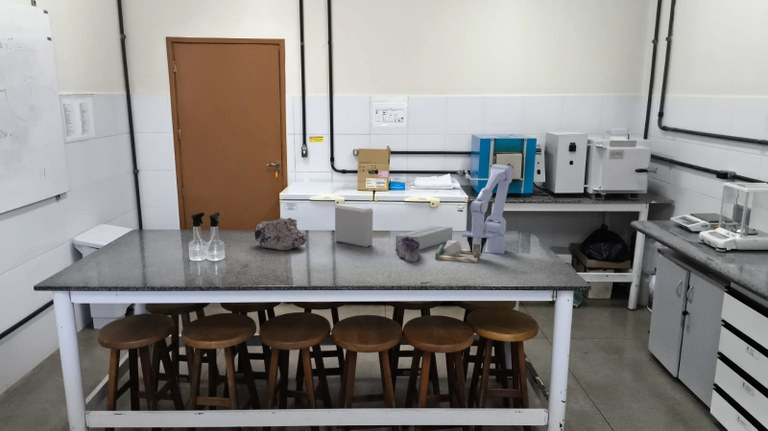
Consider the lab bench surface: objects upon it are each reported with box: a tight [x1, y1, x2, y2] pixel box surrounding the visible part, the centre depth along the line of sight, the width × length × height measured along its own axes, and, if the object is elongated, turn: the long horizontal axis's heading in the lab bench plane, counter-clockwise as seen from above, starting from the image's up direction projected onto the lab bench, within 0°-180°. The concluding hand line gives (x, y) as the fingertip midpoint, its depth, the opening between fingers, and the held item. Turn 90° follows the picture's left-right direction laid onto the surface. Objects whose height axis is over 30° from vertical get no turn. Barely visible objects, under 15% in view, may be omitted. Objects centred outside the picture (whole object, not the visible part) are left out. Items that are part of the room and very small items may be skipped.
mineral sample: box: [254, 217, 307, 251], centre depth 286 cm, size 27×19×15 cm
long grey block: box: [395, 225, 453, 251], centre depth 298 cm, size 30×14×8 cm, turn 137°
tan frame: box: [434, 243, 481, 264], centre depth 274 cm, size 20×16×7 cm
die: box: [443, 239, 463, 257], centre depth 274 cm, size 8×9×10 cm
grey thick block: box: [334, 203, 374, 248], centre depth 293 cm, size 21×8×20 cm, turn 58°
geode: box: [394, 237, 420, 263], centre depth 272 cm, size 20×12×10 cm, turn 11°
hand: (476, 252), depth 272 cm, fingers open, 4 cm apart
